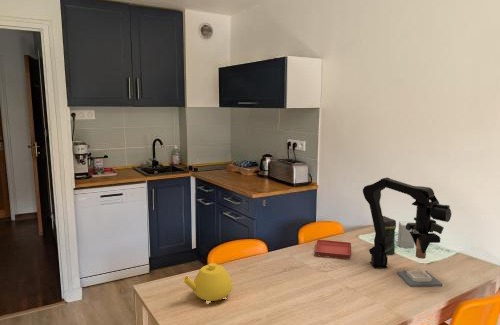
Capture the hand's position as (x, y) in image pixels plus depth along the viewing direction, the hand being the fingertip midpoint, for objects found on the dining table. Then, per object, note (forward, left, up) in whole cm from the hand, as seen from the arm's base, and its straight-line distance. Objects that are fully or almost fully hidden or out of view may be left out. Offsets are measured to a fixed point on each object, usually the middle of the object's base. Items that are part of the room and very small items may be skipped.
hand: (420, 251), depth 166 cm
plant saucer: (-29, +33, -14) cm, 46 cm away
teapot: (-92, -12, -13) cm, 94 cm away
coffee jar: (-2, +32, -13) cm, 35 cm away
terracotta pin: (0, 0, -2) cm, 3 cm away
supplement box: (+13, +40, -13) cm, 44 cm away
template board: (0, 0, -13) cm, 13 cm away
